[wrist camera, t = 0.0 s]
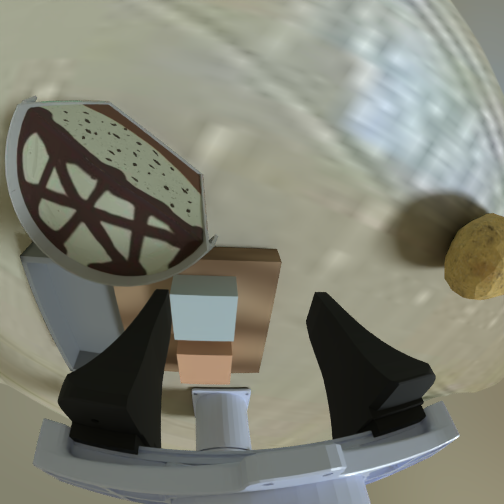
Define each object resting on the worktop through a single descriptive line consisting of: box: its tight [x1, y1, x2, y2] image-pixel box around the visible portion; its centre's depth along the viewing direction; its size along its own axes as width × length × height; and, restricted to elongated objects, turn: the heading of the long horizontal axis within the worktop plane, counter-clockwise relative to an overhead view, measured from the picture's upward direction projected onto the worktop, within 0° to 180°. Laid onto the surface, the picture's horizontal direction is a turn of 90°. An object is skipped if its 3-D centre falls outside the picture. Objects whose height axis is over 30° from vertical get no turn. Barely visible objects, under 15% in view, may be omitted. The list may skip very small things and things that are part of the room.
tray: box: [20, 242, 124, 371], centre depth 24 cm, size 16×8×4 cm, turn 174°
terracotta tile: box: [177, 340, 232, 384], centre depth 26 cm, size 5×5×2 cm
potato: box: [444, 213, 504, 300], centre depth 22 cm, size 10×14×10 cm
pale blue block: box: [170, 275, 238, 341], centre depth 22 cm, size 5×5×2 cm
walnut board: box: [113, 247, 282, 373], centre depth 26 cm, size 15×14×2 cm
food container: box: [5, 96, 218, 287], centre depth 15 cm, size 12×6×10 cm, turn 46°
